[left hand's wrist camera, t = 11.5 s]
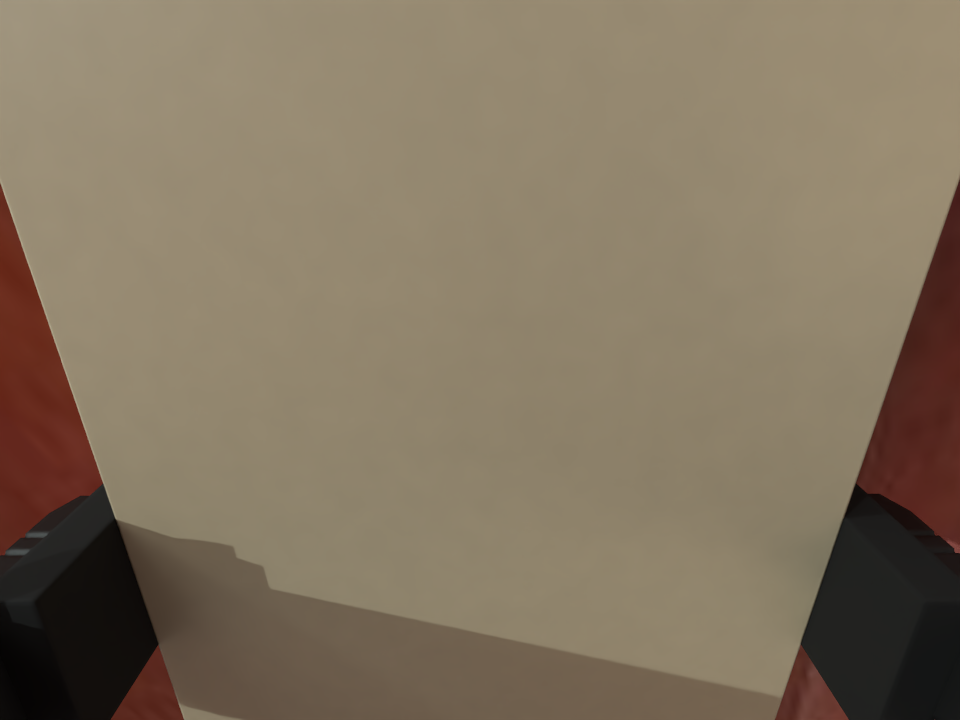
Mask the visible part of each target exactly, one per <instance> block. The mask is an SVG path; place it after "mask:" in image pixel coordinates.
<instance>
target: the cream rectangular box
mask: <svg viewBox="0 0 960 720" xmlns="http://www.w3.org/2000/svg"><path fill="white" fill-rule="evenodd" d="M959 180H960V0H0V183H1V186H2V189H3V192H4V194H5V197H6V200H7V203H8V206H9V209H10V212H11V215H12V218H13V221H14V224H15V227H16V229H17V232H18V235H19V238H20V241H21V244H22V247H23V250H24V253H25V256H26V259H27V262H28V265H29V267H30V270H31V273H32V276H33V279H34V282H35V285H36V288H37V291H38V294H39V297H40V300H41V303H42V305H43V308H44V311H45V314H46V317H47V320H48V323H49V326H50V329H51V332H52V335H53V338H54V340H55V343H56V346H57V349H58V352H59V355H60V358H61V361H62V364H63V367H64V370H65V373H66V376H67V378H68V381H69V384H70V387H71V390H72V393H73V396H74V399H75V402H76V405H77V408H78V411H79V414H80V416H81V419H82V422H83V425H84V428H85V431H86V434H87V437H88V440H89V443H90V446H91V449H92V451H93V454H94V457H95V460H96V463H97V466H98V469H99V472H100V475H101V478H102V481H103V484H104V487H105V489H106V492H107V495H108V498H109V501H110V504H111V507H112V510H113V513H114V516H115V519H116V522H117V525H118V527H119V530H120V533H121V536H122V539H123V542H124V545H125V548H126V551H127V554H128V557H129V560H130V562H131V565H132V568H133V571H134V574H135V577H136V580H137V583H138V586H139V589H140V592H141V595H142V598H143V600H144V603H145V606H146V609H147V612H148V615H149V618H150V621H151V624H152V627H153V630H154V633H155V635H156V638H157V641H158V644H159V647H160V650H161V653H162V656H163V659H164V662H165V665H166V668H167V671H168V673H169V676H170V679H171V682H172V685H173V688H174V691H175V694H176V697H177V700H178V703H179V706H180V709H181V711H182V714H183V717H184V720H775V718H776V715H777V712H778V709H779V706H780V703H781V700H782V697H783V694H784V691H785V688H786V686H787V683H788V680H789V677H790V674H791V671H792V668H793V665H794V662H795V659H796V656H797V653H798V650H799V648H800V645H801V642H802V639H803V636H804V633H805V630H806V627H807V624H808V621H809V618H810V615H811V612H812V610H813V607H814V604H815V601H816V598H817V595H818V592H819V589H820V586H821V583H822V580H823V577H824V574H825V571H826V569H827V566H828V563H829V560H830V557H831V554H832V551H833V548H834V545H835V542H836V539H837V536H838V533H839V531H840V528H841V525H842V522H843V519H844V516H845V513H846V510H847V507H848V504H849V501H850V498H851V495H852V493H853V490H854V487H855V484H856V481H857V478H858V475H859V472H860V469H861V466H862V463H863V460H864V457H865V455H866V452H867V449H868V446H869V443H870V440H871V437H872V434H873V431H874V428H875V425H876V422H877V419H878V417H879V414H880V411H881V408H882V405H883V402H884V399H885V396H886V393H887V390H888V387H889V384H890V381H891V378H892V376H893V373H894V370H895V367H896V364H897V361H898V358H899V355H900V352H901V349H902V346H903V343H904V340H905V338H906V335H907V332H908V329H909V326H910V323H911V320H912V317H913V314H914V311H915V308H916V305H917V302H918V300H919V297H920V294H921V291H922V288H923V285H924V282H925V279H926V276H927V273H928V270H929V267H930V264H931V262H932V259H933V256H934V253H935V250H936V247H937V244H938V241H939V238H940V235H941V232H942V229H943V226H944V224H945V221H946V218H947V215H948V212H949V209H950V206H951V203H952V200H953V197H954V194H955V191H956V188H957V186H958V183H959Z"/></svg>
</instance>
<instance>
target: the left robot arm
mask: <svg viewBox="0 0 960 720" xmlns="http://www.w3.org/2000/svg"><path fill="white" fill-rule="evenodd" d="M801 645H802V647H803V648H804V650H805V651H806V653H807V654H808V656H809V658H810V659H811V661H812V662H813V664H814V665H815V667H816V669H817V670H818V672H819V673H820V675H821V676H822V678H823V680H824V681H825V683H826V684H827V686H828V687H829V689H830V690H831V692H832V694H833V695H834V697H835V698H836V700H837V701H838V703H839V705H840V706H841V708H842V709H843V711H844V712H845V714H846V716H847V717H848V719H849V720H934V719H935V720H960V553H955V552H954V548H953V547H952V546H950V545H949V544H948V543H947V542H946V541H945V540H943V539H942V538H941V537H940V536H935V535H934V531H933V530H932V529H931V528H929V527H928V526H927V525H926V524H925V523H924V522H922V521H921V520H920V519H919V518H918V517H917V516H915V515H914V514H913V513H912V512H911V511H909V510H907V509H906V508H904V507H902V506H900V505H898V504H897V503H895V502H893V501H891V500H889V499H888V498H886V497H884V496H882V495H880V494H867V493H866V492H865V491H864V490H863V489H861V488H860V487H859V486H858V485H857V484H855V487H854V490H853V493H852V495H851V498H850V501H849V504H848V507H847V510H846V513H845V516H844V519H843V522H842V525H841V528H840V531H839V533H838V536H837V539H836V542H835V545H834V548H833V551H832V554H831V557H830V560H829V563H828V566H827V569H826V571H825V574H824V577H823V580H822V583H821V586H820V589H819V592H818V595H817V598H816V601H815V604H814V607H813V610H812V612H811V615H810V618H809V621H808V624H807V627H806V630H805V633H804V636H803V639H802V642H801ZM157 646H158V641H157V638H156V635H155V633H154V630H153V627H152V624H151V621H150V618H149V615H148V612H147V609H146V606H145V603H144V600H143V598H142V595H141V592H140V589H139V586H138V583H137V580H136V577H135V574H134V571H133V568H132V565H131V562H130V560H129V557H128V554H127V551H126V548H125V545H124V542H123V539H122V536H121V533H120V530H119V527H118V525H117V522H116V519H115V516H114V513H113V510H112V507H111V504H110V501H109V498H108V495H107V492H106V489H105V487H104V484H102V485H101V486H100V487H99V488H98V489H97V490H96V491H95V492H94V493H92V494H91V495H90V496H80V497H78V498H76V499H74V500H72V501H71V502H69V503H67V504H65V505H63V506H62V507H60V508H58V509H56V510H54V511H53V512H51V513H49V514H48V515H47V516H46V517H45V518H43V519H42V520H41V521H40V522H39V523H38V524H36V525H35V526H34V527H33V528H32V529H31V530H29V531H28V532H27V533H26V536H25V538H20V539H19V540H18V541H17V542H16V543H14V544H13V545H12V546H11V547H10V548H9V549H8V550H6V554H5V555H1V556H0V720H110V719H111V718H112V716H113V715H114V713H115V711H116V710H117V708H118V707H119V705H120V704H121V702H122V701H123V699H124V697H125V696H126V694H127V693H128V691H129V690H130V688H131V686H132V685H133V683H134V682H135V680H136V679H137V677H138V675H139V674H140V672H141V671H142V669H143V668H144V666H145V664H146V663H147V661H148V660H149V658H150V657H151V655H152V654H153V652H154V650H155V649H156V647H157Z"/></svg>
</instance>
